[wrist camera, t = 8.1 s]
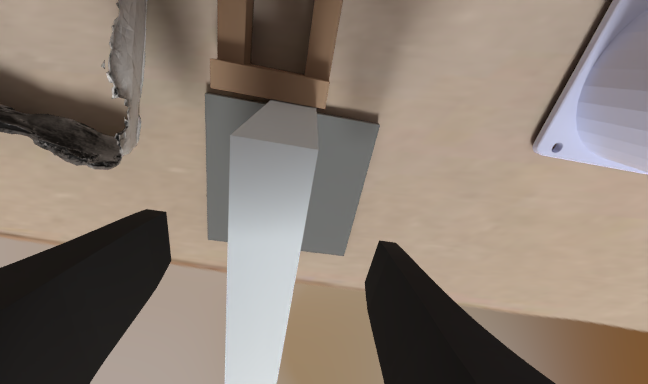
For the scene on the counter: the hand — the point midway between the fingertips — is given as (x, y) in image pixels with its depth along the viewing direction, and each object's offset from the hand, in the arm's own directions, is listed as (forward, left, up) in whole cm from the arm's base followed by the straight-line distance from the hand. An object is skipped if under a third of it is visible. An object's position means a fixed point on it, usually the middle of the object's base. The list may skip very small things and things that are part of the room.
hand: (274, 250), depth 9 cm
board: (0, 0, -5) cm, 5 cm away
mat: (0, 0, -6) cm, 5 cm away
